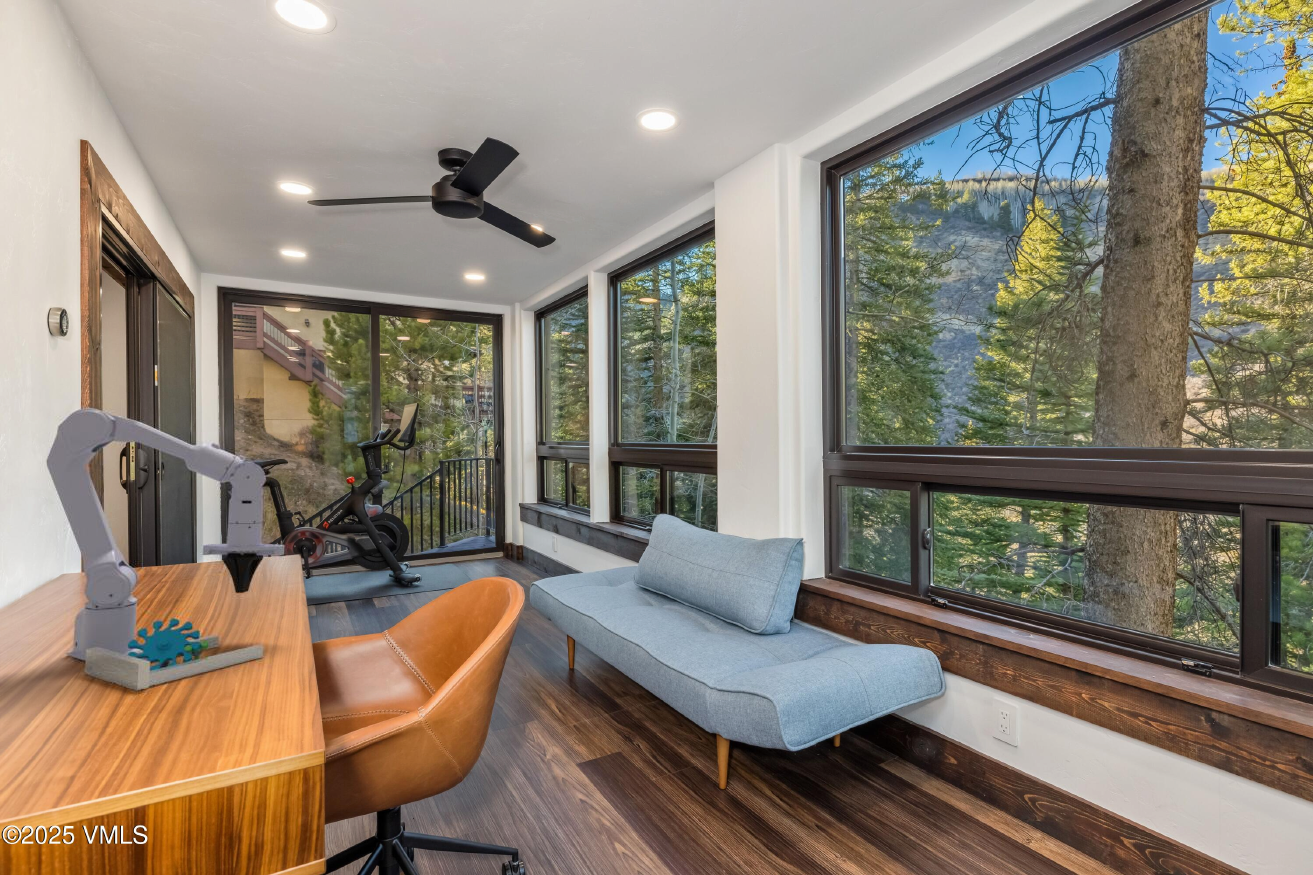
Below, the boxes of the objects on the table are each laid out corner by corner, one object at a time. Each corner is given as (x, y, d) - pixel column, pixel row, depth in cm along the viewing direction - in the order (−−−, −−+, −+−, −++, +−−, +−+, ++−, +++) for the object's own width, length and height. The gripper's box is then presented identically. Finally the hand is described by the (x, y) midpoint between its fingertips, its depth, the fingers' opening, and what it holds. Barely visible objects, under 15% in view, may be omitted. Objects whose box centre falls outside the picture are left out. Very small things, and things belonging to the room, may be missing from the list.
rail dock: (84, 673, 104) (86, 648, 104) (212, 644, 121) (213, 623, 121) (137, 690, 97) (138, 664, 97) (264, 657, 114) (265, 635, 114)
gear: (115, 668, 102) (140, 614, 109) (118, 686, 105) (142, 633, 112) (197, 670, 106) (216, 618, 113) (198, 688, 110) (216, 636, 117)
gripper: (193, 523, 122) (190, 595, 121) (272, 525, 122) (268, 596, 122) (217, 520, 129) (213, 588, 128) (291, 521, 129) (287, 589, 129)
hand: (241, 591), depth 125 cm, fingers closed
